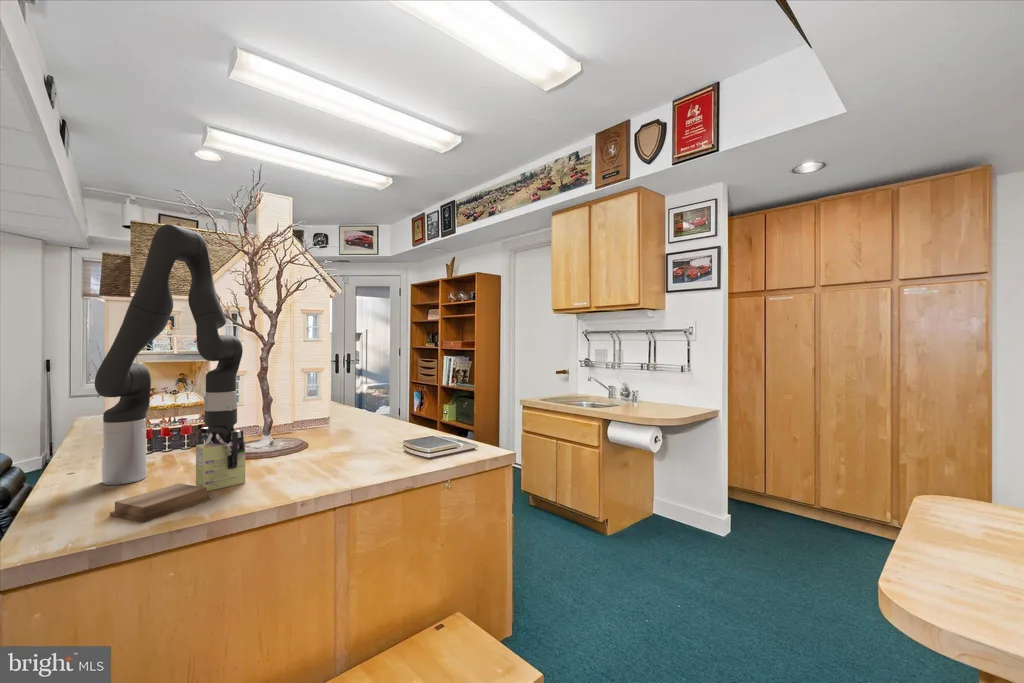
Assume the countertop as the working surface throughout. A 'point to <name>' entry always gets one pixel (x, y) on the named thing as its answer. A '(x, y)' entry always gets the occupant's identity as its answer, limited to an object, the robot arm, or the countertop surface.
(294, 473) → the countertop surface
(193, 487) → the plinth
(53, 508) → the countertop surface
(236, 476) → the box
